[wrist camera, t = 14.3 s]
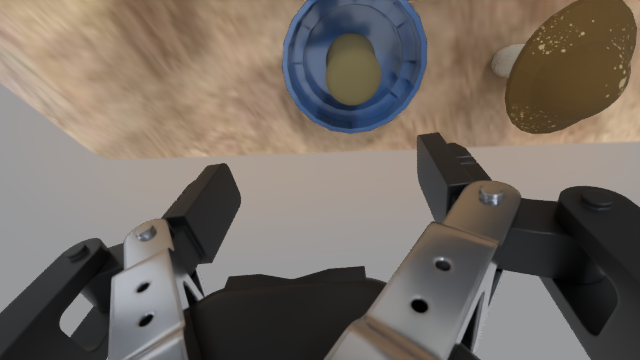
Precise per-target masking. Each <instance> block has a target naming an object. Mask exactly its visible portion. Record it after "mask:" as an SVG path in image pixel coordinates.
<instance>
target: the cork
mask: <svg viewBox="0 0 640 360" xmlns="http://www.w3.org/2000/svg"><path fill="white" fill-rule="evenodd" d="M326 66H327V71H326V84H327V87H328V90H329V92H330V93H331V95H332V96H333V97H334V98H335V99H336V100H338V101H339V102H340V103H343V104H346V105H359V104H362V103H365V102H366V101H368V100H369V99H371V98H372V97H373V95H374V94H375V93H376V92H377V90H378V88H379V85H380V83H381V75H382V72H381V68H380V64H379V62H378V60H377V59H376V56H375V51H374V47H373V46H372V44H371V42H370V41H369V40H368V39H367V38H366V37H365V36H364V35H361V34H358V33H345V34H343V35H340V36H339V37H337V38H336V39H335V40H334V41H333V42H332V43H331V45H330V46H329V48H328V51H327V55H326Z"/></svg>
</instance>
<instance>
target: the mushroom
mask: <svg viewBox="0 0 640 360" xmlns="http://www.w3.org/2000/svg"><path fill="white" fill-rule="evenodd" d="M636 33H637V27H636V23H635V20H634V16H633V13H632V11H631V9H630V8H629V7H628V6H627V5H626V4H625V3H624V1H623V0H578V1H576V2H573V3H571V4H570V5H568V6H567V7H565V8H563V9H562V10H560V11H559V12H557V13H556V14H554V15H553V16H551V17H550V18H549V19H548V20H547V21H546V22H545V23H544V24H543V25H542V26H541V27H539V28H538V29H537V30H536V31H535V32H534V34H533V35H532V36H531V38H530V39H529V40H528V41H527V43H526V44H512V45H508V46H505V47H504V48H502V49H501V50H499V51H498V52H497V53H496V54H495V55H494V57H493V59H492V63H491V66H492V71H493V72H494V73H495V74H496V75H498V76H501V77H505V78H508V80H507V84H506V92H505V103H506V110H507V114H508V116H509V118H510V120H511V122H512V123H513V124H514V125H515V126H516V127H517V128H519V129H520V130H522V131H525V132H528V133H532V134H542V133H551V132H555V131H559V130H562V129H565V128H567V127H569V126H571V125H573V124H575V123H577V122H579V121H580V120H582V119H585V118H588V117H591V116H593V115H595V114H598V113H599V112H601V111H603V110H604V109H606V108H608V107H609V106H610V105H611V104H612V103H614V102H615V101H616V100H617V99H618V98H619V96H620V95H621V94H622V93H623V91H624V89H625V88H626V86H627V84H628V81H629V77H630V73H631V68H630V61H631V58H632V55H633V52H634V49H635V45H636Z"/></svg>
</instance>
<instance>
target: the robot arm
mask: <svg viewBox="0 0 640 360" xmlns="http://www.w3.org/2000/svg"><path fill="white" fill-rule="evenodd" d="M417 173H418V179H419V184H420V187H421V189H422V191H423V194H424V196H425V198H426V201H427V203H428V206H429V208H430V210H431V213H432V215H433V217H434V220H435V222H434V221H433V222H431V223H430V224H429V225H428V226H427V228H426V229H425V231H424V232H423V234H422V235H421V236H420V238H419V239H418V240H417V242H416V243H415V245H414V246H413V248H412V249H411V250H410V252H409V253H408V255H407V256H406V257H405V259H404V260H403V262H402V263H401V265H400V266H399V267H398V269H397V270H396V272H395V273H394V275H393V276H392V277H391V279H390V280H389V282H388V283H386V282H383V281H380V280H377V279H373V278H367V277H366V273H365V267H364V266H360V267H347V268H334V269H327V270H323V271H320V272H317V273H313V274H310V275H307V276H303V277H300V278H296V279H286V278H280V277H274V276H268V275H262V274H256V275H243V276H230V277H229V278H228V280H227V283H226V285H225V288H223V289H221V290H218V291H216V292H213V293H211V294H209V295H207V294H206V291H205V288H204V285H203V282H202V279H201V276H200V274H199V272H198V271H197V269H196V267H197V265H198V264H205V263H212V262H213V260H214V258H215V255H216V254H217V252H218V250H219V247H220V246H221V244H222V241H223V240H224V237H225V235H226V233H227V231H228V229H229V227H230V225H231V223H232V221H233V219H234V217H235V215H236V213H237V211H238V208H239V207H240V204H241V196H240V192H239V190H238V187H237V185H236V183H235V180H234V178H233V176H232V174H231V171H230V169H229V167H228V166H227V164H225V163H222V164H216V165H209V166H207V167H206V168H205V169H204V171H203V172H202V173H201V174H200V175H199V176H198V178H197V179H196V180H195V181H193V182H192V183H191V184H189V185H188V186H187V187H186V189H185V190H184V191H183V192H182V194H181V195H180V196H179V197H178V199H177V201H175V202H174V203H173V204H172V206H171V207H170V208H169V209H168V211H167V212H166V213H165V214H164V215H163V217H162V218H161V219H153V220H150V221H147V222H145V223H143V224H141V225H139V226H137V227H136V228H134V229H133V230H132V231H131V232H130V233H129V234H128V235H127V236H126V238H125V240H124V243H122V244H119V245H116V246H112V247H110V248H107V247H106V246H105V244H104V243H103V242H102V241H101V240H100V239H98V238H92V239H88V240H85V241H82V242H80V243H78V244H76V245H74V246H73V247H71V248H69V249H68V250H66V251H65V252H64V253H63V254H61V255H60V256H59V257H58V258H57V259H56V260H55V261H54V262H53V263H52V264H51V265H50V266H49V267H48V268H47V269H46V270H45V271H44V272H43V273H42V274H40V275H39V276H38V277H37V278H36V279H35V280H34V281H33V282H32V283H31V284H30V285H29V286H28V287H27V288H26V289H25V290H24V291H23V292H22V293H21V294H20V295H19V296H18V297H17V298H16V299H15V300H13V301H12V302H11V303H10V304H9V305H8V306H7V307H6V308H5V309H4V310H3V311H2V312H1V313H0V360H106V359H107V357H108V360H480V359H479V358H478V357H477V356H475V355H474V354H475V352H476V349H477V346H478V343H479V341H480V337H481V334H482V331H483V327H484V324H485V321H486V318H487V315H488V313H489V310H490V307H491V305H492V302H493V300H494V297H495V294H496V292H497V289H498V287H499V284H500V282H501V279H502V276H503V274H504V271H505V270H508V271H513V272H518V273H524V274H530V275H536V276H539V277H540V279H541V281H542V282H543V284H544V285H545V287H546V289H547V290H548V292H549V293H550V295H551V297H552V298H553V300H554V301H555V303H556V305H557V306H558V308H559V309H560V311H561V312H562V314H563V316H564V317H565V319H566V320H567V322H568V323H569V325H570V327H571V329H572V330H573V331H574V333H575V335H576V337H577V338H578V340H579V341H580V343H581V344H582V346H583V348H584V349H585V351H586V352H587V354H588V356H589V357H590V359H591V360H640V207H638V206H637V205H636V204H634V203H633V202H632V201H631V200H629V199H628V198H626V197H625V196H623V195H621V194H618V193H616V192H613V191H610V190H607V189H603V188H598V187H591V186H575V187H570V188H567V189H565V190H563V191H562V192H561V193H560V196H559V199H558V202H557V201H556V202H555V201H543V200H531V199H525V198H521V195H520V193H519V192H518V190H516V189H515V188H514V187H512V186H510V185H508V184H505V183H502V182H498V181H492V180H491V179H490V177H489V176H488V175H487V174H486V172H485V171H484V170H483V169H482V167H481V166H480V165H479V164H478V163H476V160H475V159H474V158H473V157H471V154H470V153H469V152H468V151H467V149H466V148H464V147H462V146H460V145H458V144H456V143H448V144H447V143H446V142H445V140H444V139H443V138H442V136H441V135H440V133H438V132H437V133H430V134H423V135H418V137H417ZM79 293H81V294H82V295H83V296H84V297H85V298H86V299H87V300H88V301H90V303H92V305H93V306H94V307H93V308H92V309H91V311H90V312H89V313H88V314H87V316H86V317H85V318H84V320H83V321H82V322H81V324H80V325H79V326H78V328H77V329H76V330H75V332H74V333H73V334H72V335H71V337H68V336H67V335H66V334H65V333H64V332H63V331H62V330H61V329H60V325H59V321H60V318H61V316H62V314H63V312H64V311H65V310H66V308H67V307H68V306H69V305H70V304H71V303H72V302H73V300H74V299H75V298H76V297H77V296H78V294H79Z"/></svg>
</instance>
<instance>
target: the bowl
mask: <svg viewBox="0 0 640 360" xmlns="http://www.w3.org/2000/svg"><path fill="white" fill-rule="evenodd" d="M345 33H358V34H361V35H364V36H365V37H366V38H367V39H368V40H369V41H370V42H371V44H372V46H373V47H374V51H375V56H376V59H377V60H378V62H379V64H380V68H381V72H382V75H381V83H380V85H379V88H378V90H377V92H376V93H375V94H374V95H373V97H372V98H371V99H369V100H368V101H366V102H365V103H362V104H359V105H346V104H343V103H340V102H339V101H338V100H336V99H335V98H334V97H333V96H332V95H331V93H330V92H329V90H328V87H327V84H326V71H327V66H326V55H327V51H328V48H329V46H330V45H331V43H332V42H333V41H334V40H335V39H336V38H337V37H339V36H340V35H343V34H345ZM426 40H427V39H426V36H425V33H424V30H423V26H422V23H421V20H420V17H419V15H418V14H417V12H416V11H415V10H414V9H413V7H412V6H411V5H410V3H409V2H408V1H407V0H307V1H306V2H305V4H304V5H303V6H302V7H301V9H300V10H299V11H298V13H297V14H296V15H295V16H294V18H293V20H292V21H291V24H290V27H289V30H288V32H287V35H286V38H285V40H284V44H283V60H282V69H283V74H284V78H285V82H286V86H287V90H288V92H289V93H290V95H291V97H292V99H293V100H294V102H295V104H296V105H297V107H298V108H299V109H300V110H301V111H302V112H303V113H304V114H305V115H306V116H307V117H308V118H309V119H310V120H311V121H313V122H314V123H316V124H318V125H320V126H322V127H324V128H327V129H329V130H331V131H336V132H343V133H350V134H351V133H358V132H365V131H370V130H373V129H375V128H378V127H380V126H382V125H384V124H386V123H389V122H390V121H391V120H393V119H394V118H395V117H396V116H397V115H398V114H400V113H401V112H402V111H403V110H404V109H405V108H406V107H407V106H408V104H409V103H410V101H411V100H412V98H413V97H414V95H415V94H416V92H417V91H418V89H419V87H420V84H421V81H422V78H423V75H424V72H425V69H426V65H427V41H426Z"/></svg>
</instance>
